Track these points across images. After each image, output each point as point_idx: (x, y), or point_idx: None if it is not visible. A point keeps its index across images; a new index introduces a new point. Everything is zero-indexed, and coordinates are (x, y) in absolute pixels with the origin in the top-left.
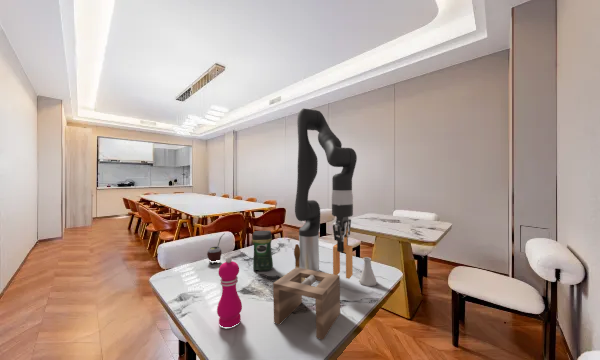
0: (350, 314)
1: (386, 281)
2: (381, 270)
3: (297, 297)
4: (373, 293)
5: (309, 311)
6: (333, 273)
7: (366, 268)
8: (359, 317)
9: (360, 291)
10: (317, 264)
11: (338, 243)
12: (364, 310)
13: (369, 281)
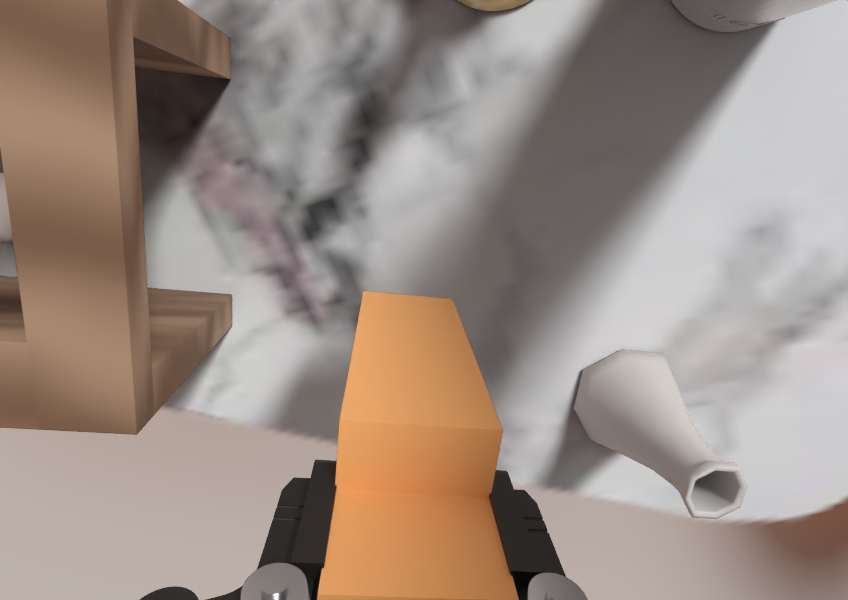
0: (244, 372)
1: (661, 480)
2: (818, 443)
3: (143, 61)
4: None
5: (163, 164)
6: (362, 298)
7: (650, 447)
8: (239, 412)
9: (498, 375)
10: (757, 9)
11: (264, 563)
12: (309, 423)
13: (592, 423)
